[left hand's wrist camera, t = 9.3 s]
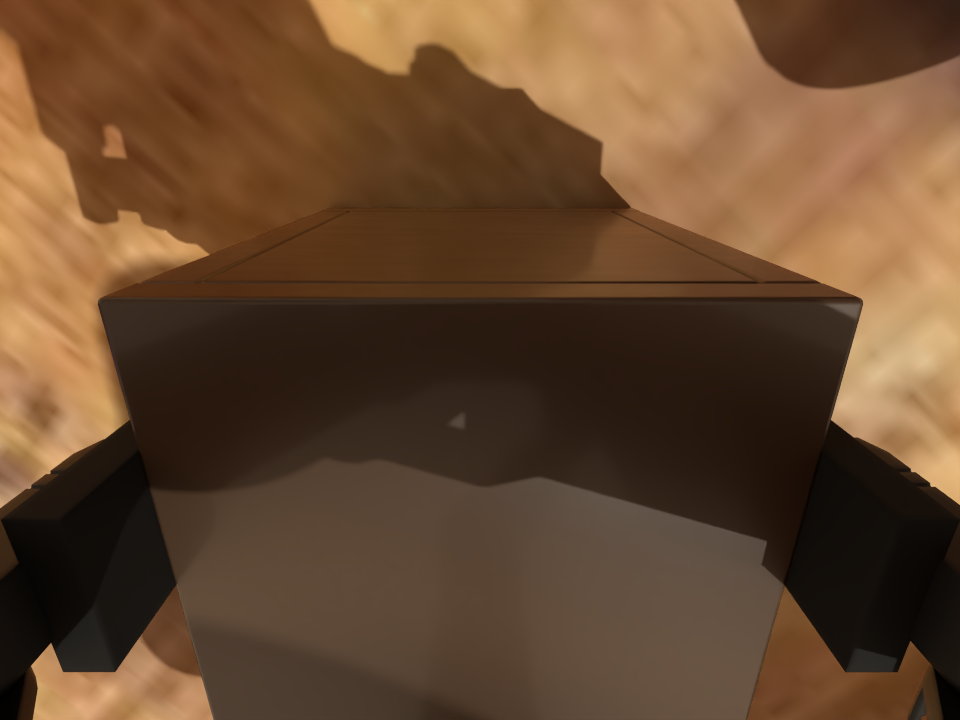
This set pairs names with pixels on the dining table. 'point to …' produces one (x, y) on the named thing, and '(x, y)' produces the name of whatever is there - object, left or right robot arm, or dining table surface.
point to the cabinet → (480, 461)
